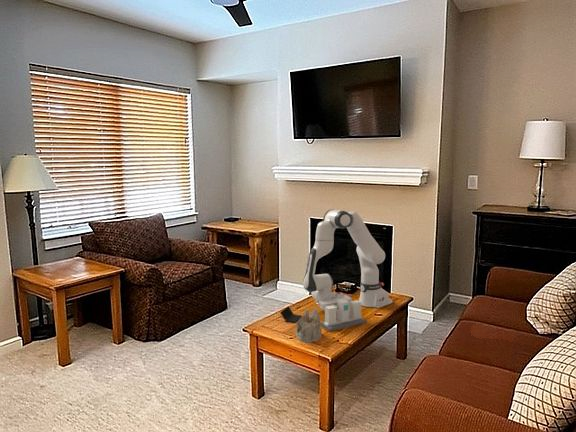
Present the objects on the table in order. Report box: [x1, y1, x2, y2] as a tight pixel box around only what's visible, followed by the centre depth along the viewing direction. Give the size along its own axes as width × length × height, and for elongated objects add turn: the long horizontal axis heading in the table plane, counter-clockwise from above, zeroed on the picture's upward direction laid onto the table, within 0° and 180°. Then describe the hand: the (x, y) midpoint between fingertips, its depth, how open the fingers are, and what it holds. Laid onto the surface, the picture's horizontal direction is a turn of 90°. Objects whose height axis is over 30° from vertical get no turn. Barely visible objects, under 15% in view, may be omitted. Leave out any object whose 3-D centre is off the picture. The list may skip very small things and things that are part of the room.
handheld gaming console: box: [279, 306, 303, 324], centre depth 254 cm, size 12×7×10 cm
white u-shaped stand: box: [320, 299, 367, 332], centre depth 245 cm, size 25×10×12 cm, turn 118°
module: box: [336, 299, 350, 322], centre depth 245 cm, size 4×6×11 cm
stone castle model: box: [294, 307, 323, 344], centre depth 230 cm, size 16×16×15 cm
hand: (343, 307), depth 244 cm, fingers open, 6 cm apart
